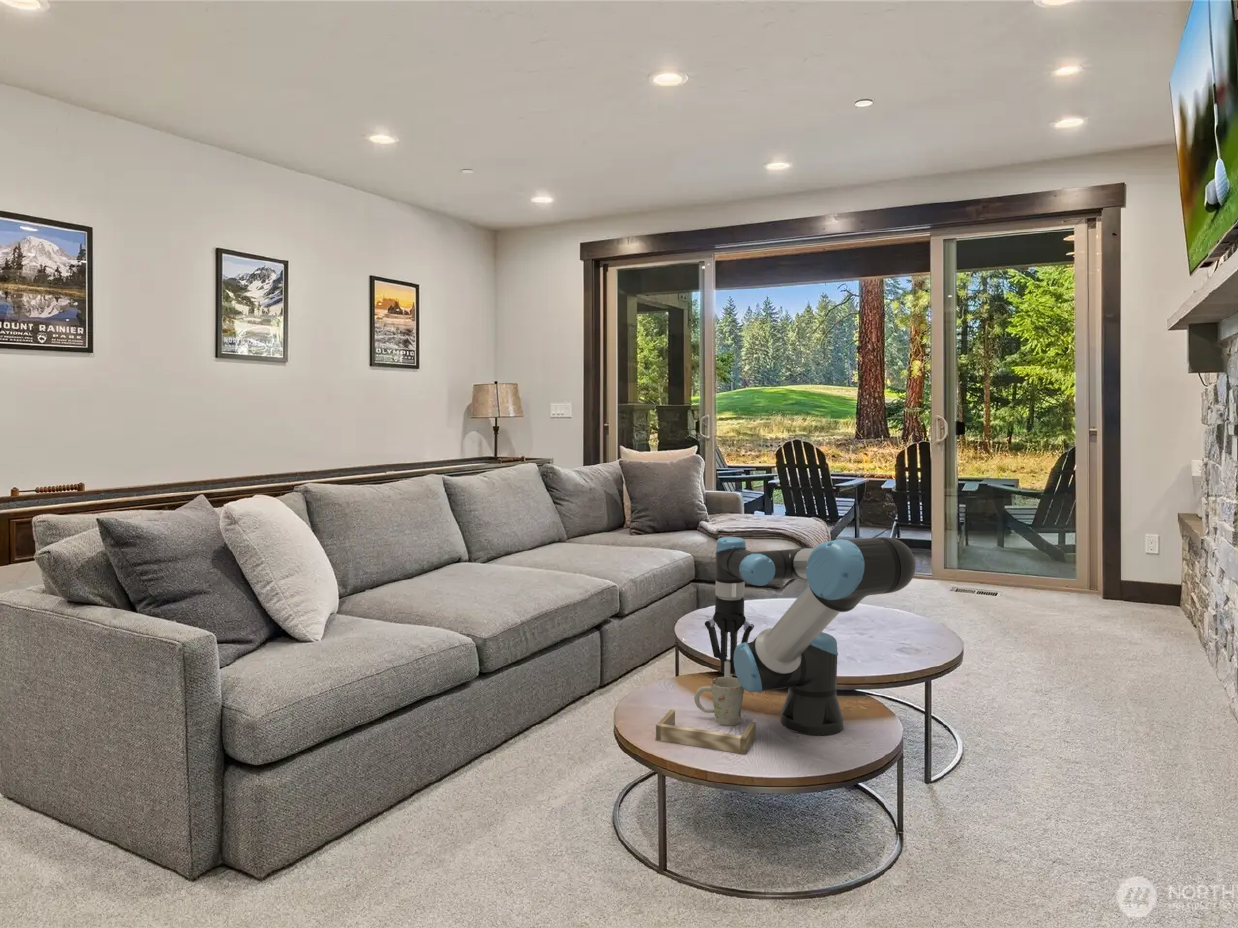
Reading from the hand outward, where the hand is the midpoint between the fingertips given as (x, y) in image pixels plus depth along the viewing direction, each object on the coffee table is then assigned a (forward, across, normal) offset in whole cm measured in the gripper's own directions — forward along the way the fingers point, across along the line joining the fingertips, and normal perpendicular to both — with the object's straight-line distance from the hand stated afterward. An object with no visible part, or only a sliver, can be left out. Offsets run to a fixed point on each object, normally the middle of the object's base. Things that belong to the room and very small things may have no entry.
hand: (728, 684), depth 213 cm
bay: (+6, 0, +22) cm, 23 cm away
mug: (+6, 0, +10) cm, 12 cm away
